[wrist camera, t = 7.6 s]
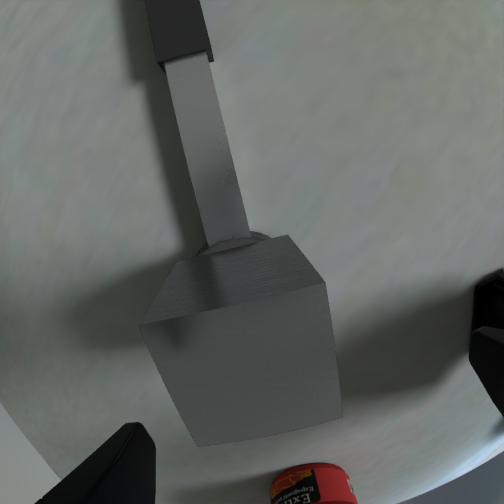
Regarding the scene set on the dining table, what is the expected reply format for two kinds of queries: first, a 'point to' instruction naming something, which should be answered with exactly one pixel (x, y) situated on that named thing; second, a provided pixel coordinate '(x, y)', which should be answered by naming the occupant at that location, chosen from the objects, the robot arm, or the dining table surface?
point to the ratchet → (200, 121)
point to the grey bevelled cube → (245, 343)
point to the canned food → (313, 486)
